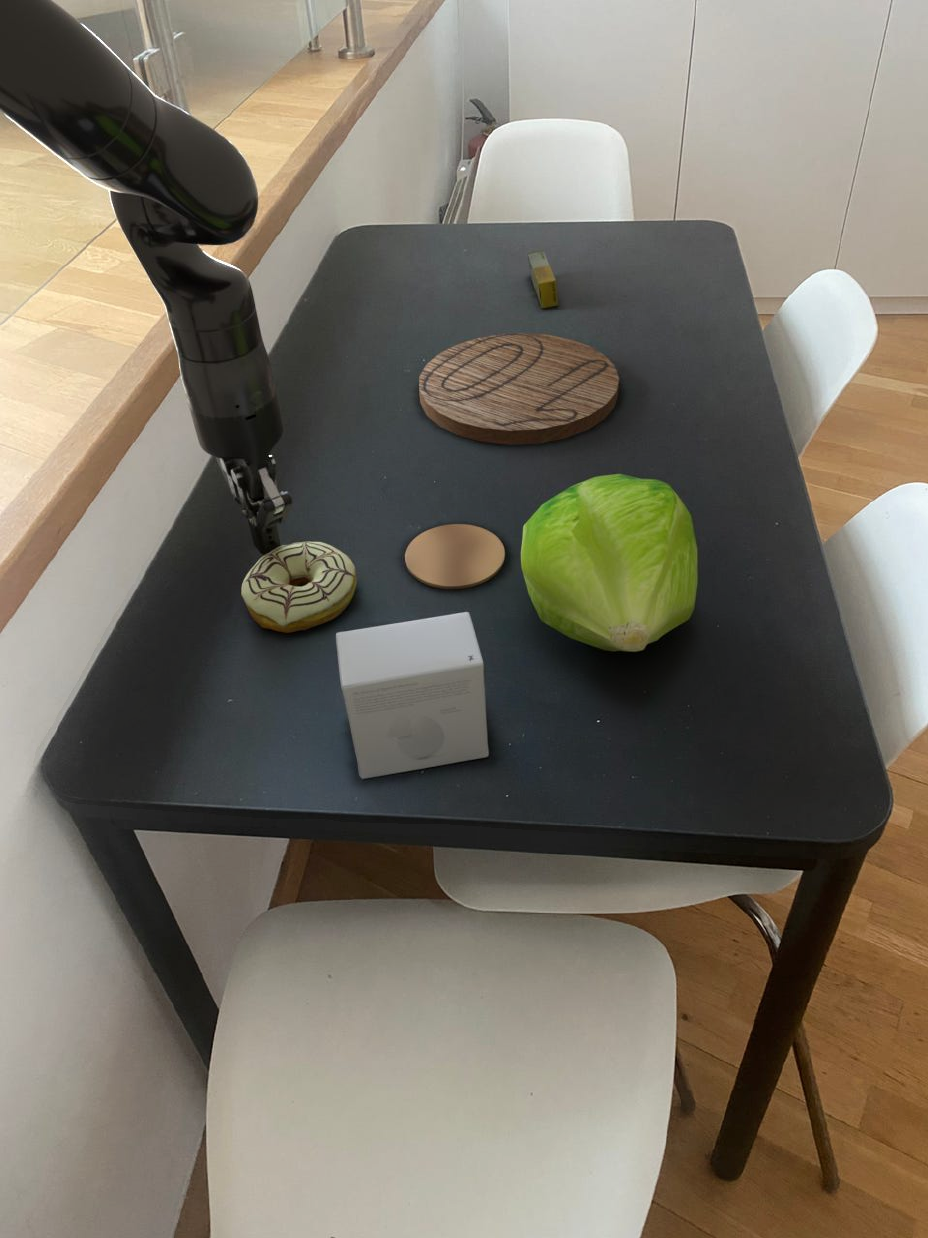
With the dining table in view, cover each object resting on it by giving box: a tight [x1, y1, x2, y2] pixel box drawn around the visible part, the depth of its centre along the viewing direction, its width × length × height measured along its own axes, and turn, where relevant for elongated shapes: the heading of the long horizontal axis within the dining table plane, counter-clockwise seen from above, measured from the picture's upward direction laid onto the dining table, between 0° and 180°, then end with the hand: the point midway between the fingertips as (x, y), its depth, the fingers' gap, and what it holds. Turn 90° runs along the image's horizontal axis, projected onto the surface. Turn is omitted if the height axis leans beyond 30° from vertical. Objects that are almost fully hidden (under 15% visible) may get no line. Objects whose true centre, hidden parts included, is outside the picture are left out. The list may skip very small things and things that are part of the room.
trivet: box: [418, 332, 620, 446], centre depth 116 cm, size 25×25×2 cm
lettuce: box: [520, 473, 699, 653], centre depth 79 cm, size 15×20×14 cm
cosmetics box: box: [335, 611, 490, 780], centre depth 71 cm, size 10×6×10 cm, turn 100°
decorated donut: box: [240, 540, 358, 633], centre depth 87 cm, size 10×11×4 cm
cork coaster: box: [404, 523, 506, 590], centre depth 92 cm, size 10×10×1 cm
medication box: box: [527, 250, 559, 309], centre depth 136 cm, size 12×3×4 cm, turn 5°
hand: (268, 548), depth 91 cm, fingers closed
